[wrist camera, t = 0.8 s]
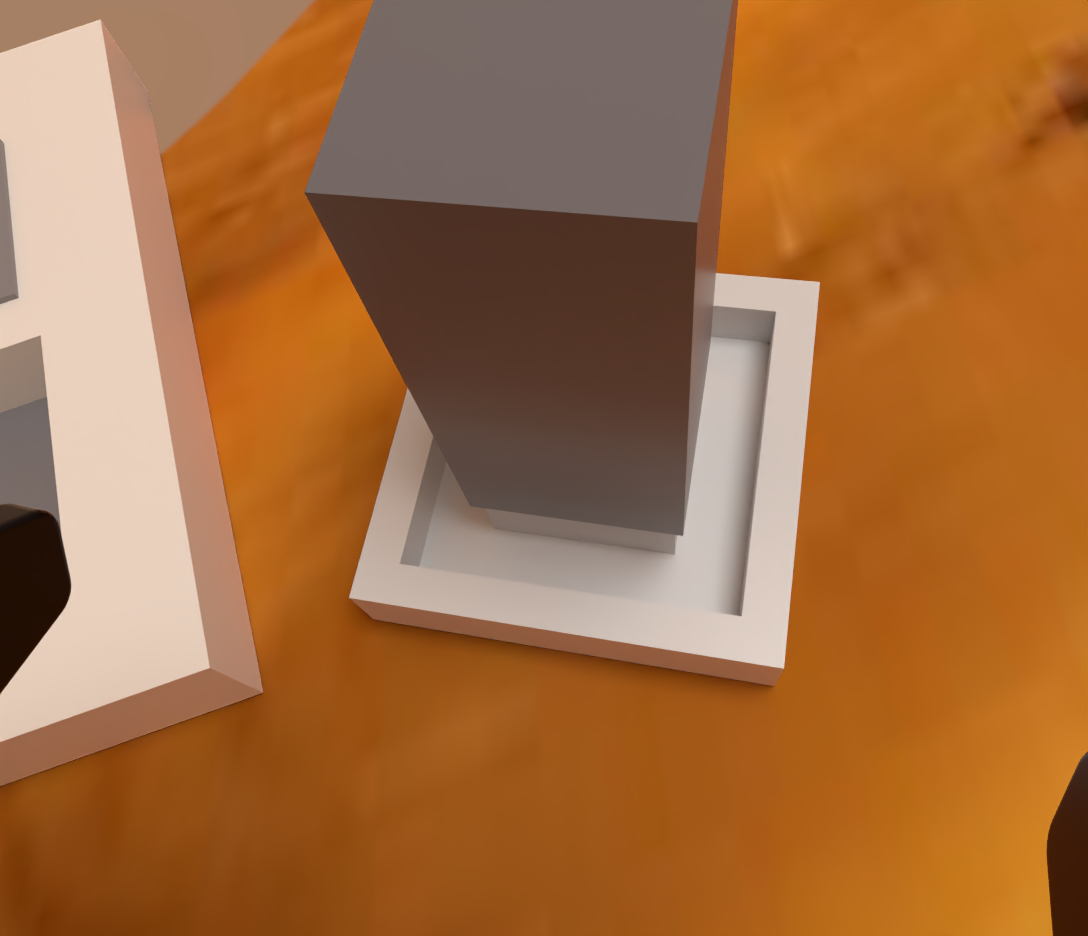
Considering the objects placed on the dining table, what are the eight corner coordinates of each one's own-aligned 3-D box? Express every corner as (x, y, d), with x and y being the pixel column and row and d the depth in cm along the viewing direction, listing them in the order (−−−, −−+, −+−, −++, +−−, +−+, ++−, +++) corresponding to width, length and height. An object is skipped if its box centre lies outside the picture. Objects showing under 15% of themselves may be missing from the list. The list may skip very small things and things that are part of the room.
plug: (682, 563, 23) (697, 222, 11) (485, 534, 24) (304, 191, 12) (706, 385, 25) (743, -70, 13) (524, 365, 26) (401, -76, 14)
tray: (774, 686, 22) (783, 668, 20) (373, 619, 24) (349, 597, 22) (809, 324, 26) (819, 281, 24) (460, 291, 27) (446, 249, 26)
